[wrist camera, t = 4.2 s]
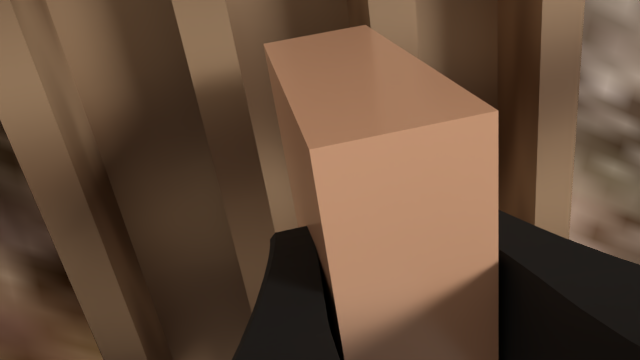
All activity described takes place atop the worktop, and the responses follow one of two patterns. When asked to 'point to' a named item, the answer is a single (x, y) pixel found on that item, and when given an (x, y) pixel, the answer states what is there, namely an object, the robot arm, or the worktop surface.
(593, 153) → the worktop surface
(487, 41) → the rack
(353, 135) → the tile
